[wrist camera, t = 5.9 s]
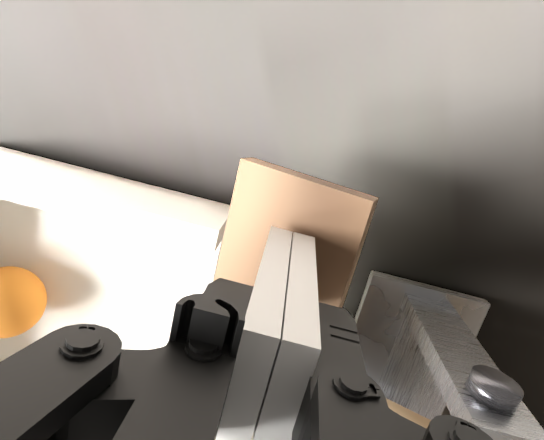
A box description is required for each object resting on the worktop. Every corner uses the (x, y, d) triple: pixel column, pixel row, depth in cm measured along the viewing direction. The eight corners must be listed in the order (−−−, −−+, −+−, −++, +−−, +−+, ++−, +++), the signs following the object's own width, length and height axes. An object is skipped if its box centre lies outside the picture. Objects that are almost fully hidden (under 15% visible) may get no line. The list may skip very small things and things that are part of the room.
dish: (-23, 370, 24) (-84, 421, 20) (-17, 142, 20) (-92, 151, 16) (186, 424, 24) (164, 485, 20) (235, 206, 20) (219, 230, 16)
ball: (-57, 333, 19) (-5, 364, 18) (-57, 268, 18) (-2, 297, 17) (12, 305, 22) (60, 329, 21) (16, 248, 21) (65, 271, 20)
